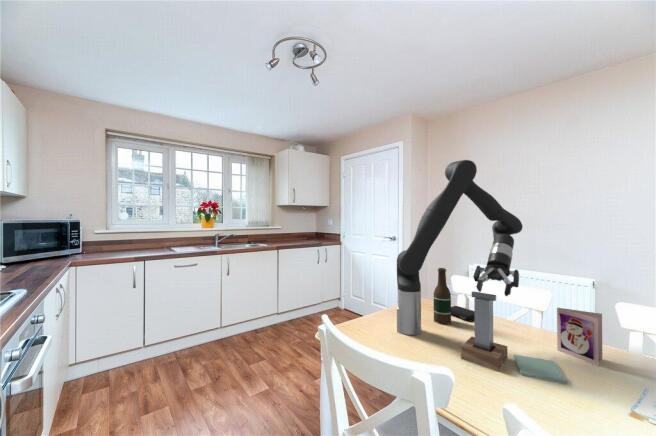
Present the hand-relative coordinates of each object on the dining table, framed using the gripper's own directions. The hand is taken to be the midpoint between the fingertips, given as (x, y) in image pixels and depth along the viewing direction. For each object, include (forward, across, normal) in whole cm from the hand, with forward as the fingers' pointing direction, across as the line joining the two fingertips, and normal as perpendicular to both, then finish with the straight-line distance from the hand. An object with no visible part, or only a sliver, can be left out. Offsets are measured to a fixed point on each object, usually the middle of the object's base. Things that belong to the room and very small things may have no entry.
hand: (492, 292), depth 99 cm
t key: (+22, 0, +7) cm, 22 cm away
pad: (+18, +14, +10) cm, 25 cm away
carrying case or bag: (-4, -20, +33) cm, 39 cm away
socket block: (+22, 0, +6) cm, 22 cm away
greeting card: (+4, +23, +24) cm, 34 cm away
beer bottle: (+5, -23, +23) cm, 33 cm away
